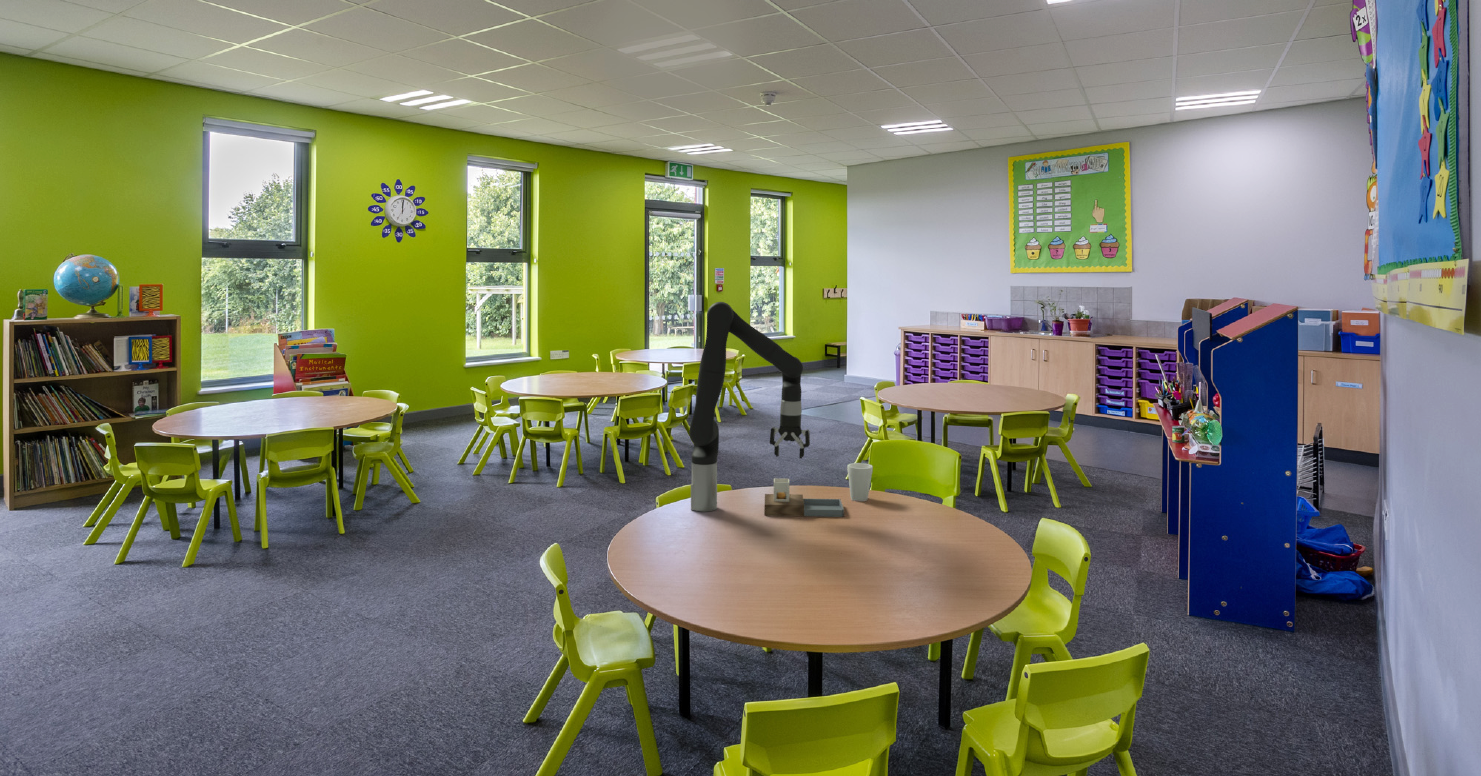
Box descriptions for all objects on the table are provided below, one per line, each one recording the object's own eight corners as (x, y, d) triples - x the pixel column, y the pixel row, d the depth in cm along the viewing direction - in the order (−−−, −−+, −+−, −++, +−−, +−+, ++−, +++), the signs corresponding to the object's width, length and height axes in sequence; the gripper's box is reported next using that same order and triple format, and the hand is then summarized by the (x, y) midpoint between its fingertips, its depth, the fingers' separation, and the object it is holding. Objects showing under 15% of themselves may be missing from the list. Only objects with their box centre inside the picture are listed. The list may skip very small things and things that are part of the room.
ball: (777, 500, 280) (777, 492, 280) (777, 498, 283) (777, 490, 283) (785, 500, 280) (785, 492, 279) (785, 498, 283) (785, 490, 282)
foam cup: (842, 497, 299) (842, 464, 298) (862, 494, 303) (863, 462, 302) (855, 503, 291) (856, 469, 289) (876, 500, 295) (877, 467, 293)
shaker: (773, 501, 279) (773, 482, 278) (773, 497, 284) (773, 478, 283) (789, 501, 279) (789, 482, 278) (788, 497, 284) (789, 478, 283)
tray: (804, 516, 275) (804, 509, 274) (802, 505, 289) (802, 498, 288) (843, 516, 274) (843, 509, 274) (840, 505, 288) (840, 499, 288)
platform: (764, 515, 275) (764, 504, 275) (764, 504, 289) (764, 493, 289) (804, 516, 275) (804, 505, 274) (802, 505, 289) (802, 494, 288)
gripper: (769, 413, 276) (767, 457, 278) (809, 415, 273) (807, 461, 275) (773, 409, 283) (771, 453, 285) (812, 412, 280) (810, 456, 282)
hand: (789, 457), depth 280 cm, fingers open, 8 cm apart
